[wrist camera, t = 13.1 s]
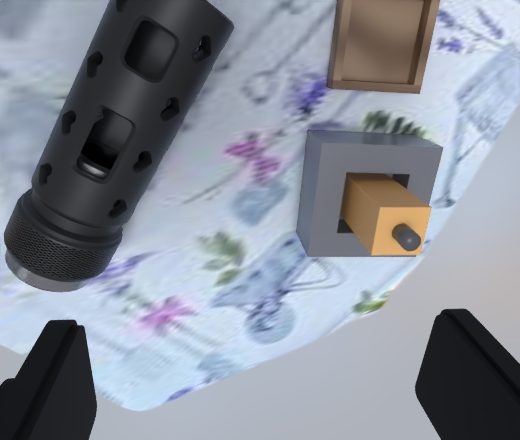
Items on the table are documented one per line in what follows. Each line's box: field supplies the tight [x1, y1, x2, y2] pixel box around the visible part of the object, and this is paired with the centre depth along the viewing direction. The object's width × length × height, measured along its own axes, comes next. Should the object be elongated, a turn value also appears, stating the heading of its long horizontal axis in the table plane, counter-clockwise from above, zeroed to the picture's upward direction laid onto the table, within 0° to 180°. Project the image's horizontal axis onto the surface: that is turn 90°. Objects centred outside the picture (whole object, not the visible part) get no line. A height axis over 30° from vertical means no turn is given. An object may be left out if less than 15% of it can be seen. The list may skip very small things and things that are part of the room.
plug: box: [340, 172, 432, 255], centre depth 37 cm, size 4×4×12 cm
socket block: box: [296, 130, 443, 257], centre depth 42 cm, size 12×12×6 cm
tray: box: [327, 0, 440, 94], centre depth 38 cm, size 9×9×2 cm
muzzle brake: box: [4, 0, 234, 292], centre depth 35 cm, size 10×28×10 cm, turn 147°
